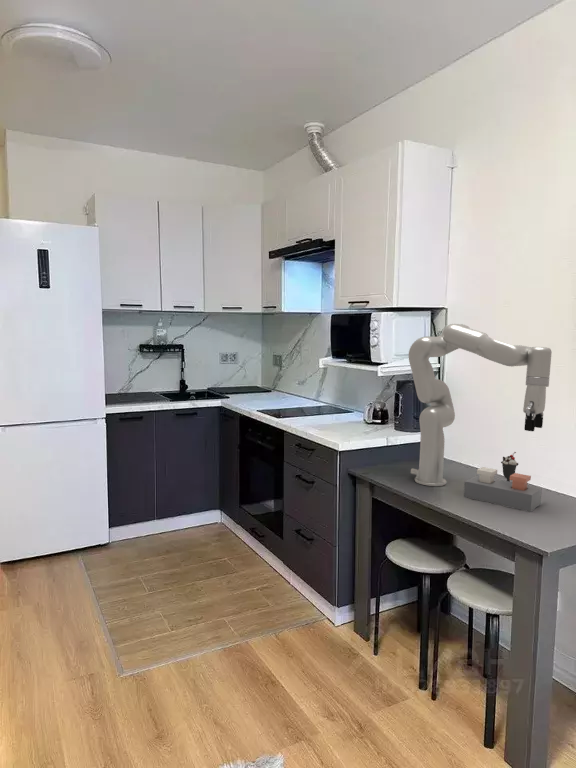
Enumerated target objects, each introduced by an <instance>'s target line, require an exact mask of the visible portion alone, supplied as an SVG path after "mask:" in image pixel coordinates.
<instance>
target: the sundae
mask: <svg viewBox="0 0 576 768" xmlns="http://www.w3.org/2000/svg"><path fill="white" fill-rule="evenodd" d="M516 453H517V452H516V451H514V452H513V453H512V454H510V455H508V456H506V457H505V456H502V461H500V463H501V464H502V474H503V477H504V478H505V479H506V481H509V482H511V480H510V475H512V474H514V473H516V470H517V467H518V465H519V462H517V461H516V457H514V454H516Z"/></svg>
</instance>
